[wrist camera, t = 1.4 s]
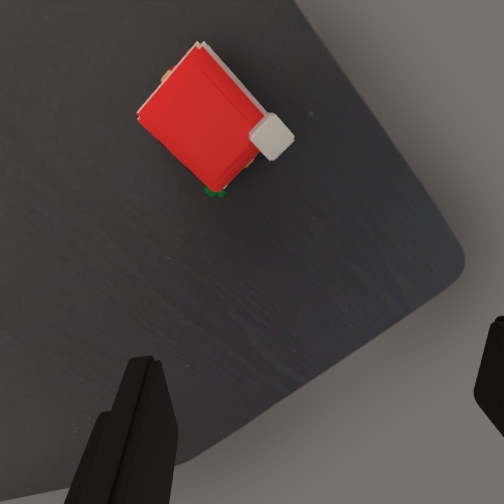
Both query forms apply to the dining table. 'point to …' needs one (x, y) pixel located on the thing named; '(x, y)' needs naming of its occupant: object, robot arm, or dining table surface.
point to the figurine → (211, 120)
